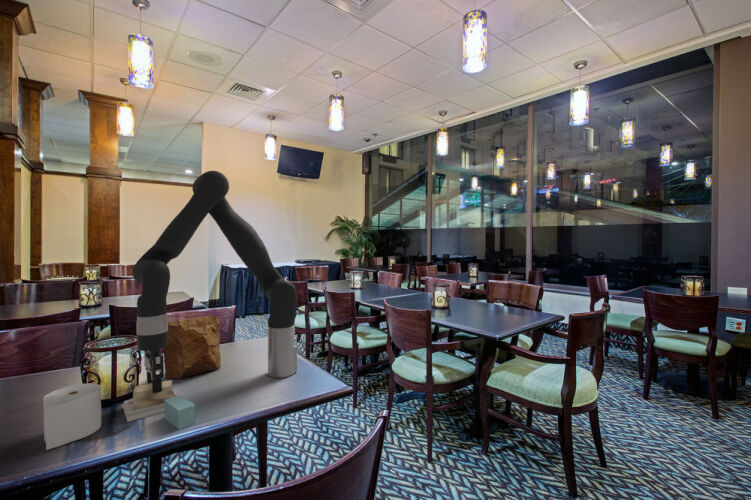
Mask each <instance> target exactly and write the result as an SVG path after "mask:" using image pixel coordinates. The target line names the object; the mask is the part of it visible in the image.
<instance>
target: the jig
mask: <svg viewBox="0 0 751 500" xmlns="http://www.w3.org/2000/svg"><path fill="white" fill-rule="evenodd" d="M179 395H180V394H179V393H178V391H177V390H176V388H172V398H173V397H176V396H179ZM122 407H123V412H124V416H125V418H126V422H128V423H129V422H132V421H136V420H139V419H143V418H146V417H150V416H154V415H157V414H161V413H165V412H164V403H161V404H158V405H154V406H150V407H146V408H142V409H138V410H135V411H133V398H131V399H127V400H124V401H123V404H122Z"/></svg>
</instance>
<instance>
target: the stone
mask: <svg viewBox="0 0 751 500" xmlns="http://www.w3.org/2000/svg"><path fill="white" fill-rule="evenodd" d="M220 324H221V323H220V318H219V317H217V316H216V315H215V316H214V315H204V316H203V315H202V316H198V317H190V318H186V319H179V320H176V321H168V338H169V344H168V345H167V346H166V347H164V348H162V349H163V357H164V358H163V365H164V371H165V372H164V379H171V380H176V379H178V380H179V379H184V378H190V377H194V376H196V375H197V376H198V375H200V374H201V375H202V374H203V373H208V372H211V371H215V370H217V369H220V368H221V367H222V366H221V351H220V347H221V346H220V341H221V340H220V329H221V328H220V326H221V325H220Z"/></svg>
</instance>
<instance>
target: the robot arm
mask: <svg viewBox="0 0 751 500" xmlns="http://www.w3.org/2000/svg"><path fill="white" fill-rule="evenodd" d="M229 190H230V183H229V180H228V178H227V177H226V175H225V174H224V173H222V172H220V171H219V170H218V171H217V170H208V171H205V172H203V173H202V174H200V175H199V176H198V177H197V178H196V179H195V180H194V182H193V183H192V192H193V195H192V196H191V197H190V199H189V200H188V202H187V203H186V205H185V206H184V207H183V208H182V209H181V211H179V213H178V214H177V215H176V216H174V218H173V219H172V220H171V221H170V223H168V225H167V226H166V227H165V229H164V230H163V232H162V233H161V235H159V237H158V238H157V240H156V241H155V243H154V244H153V245H152V246H151V247H150V248H149V249H147V250H146V252H144V254H143V255H142V256H141V257H139V259H138V260H137V262H136V263H135V264H134V266H133V268H132V278H133V280H135V282H137V283H139V284H141V285H142V286H141V287H142V288H141V294H140V295H139V296H138V297H137V301H136V312H137V313H136V315H137V316H136V349H137V350H138V351H141V352H143V351H144V354H143V358H144V363H143V365H144V367H145V371H146V383H147V384H152V392H153V393H158V392H161V391H162V382H163V378H164V379H165V372H164V371H165V365H164V353H162V351H161V349H163V348H164V347H166V346H167V345H168V344H169V338H168V323H169V320H168V313H167V312H168V309H167V307H168V306H167V296H168V293H169V288H170V282H171V271H170V268H169V266H168V264H169V263H170V262H171V261H172V260H174V259H177V258H178V257H179V256H180V255H181V254H182V252H183V251H184V249H185V248H186V247H187V245H188V243H189V242H190V241H191V239H192V237H193V236H194V234H195V233H196V232H197V229H198V228H199V227H200V225H201V224H202V222H203V221H204V220H205V218H206V217H207V216H208V214H209V215H210V216H211V217H212V219H213V220H214V222H215V223H216V224H217V227H219V229H220V230H221V232H222V234H223V235H224V237H225V238H226V240H227V241H228V243H229V244H230V246H231V247H232V248H233V250H234V252H235V253H236V255H237V256H238V257H239V259H241V261H242V263H244V265H245V266H246V268H247V269H248V270H249V271H250V272H251V273H252V275H254V277H255V279H256V280H257V281H258V283H259V285H260V287H261V289H262V291H263V293H264V295H265V298H266V299H267V300H268V301H269V302H270V303H269V307H270V308H269V309H270V310H269V317H268V318H267V375H268V377H270V378H273V379H275V378H276V379H283V378H287V377H291V376H292V374H293V375H294V374H295V372H296V373H298V346H297V345H296V344H295V343H296V341H295V340H296V338H295V335H296V331H295V330H296V328H295V327H296V324H295V323H296V322H295V320H296V319H297V313H298V312H297V307H298V306H297V303H298V297H297V296H298V292H297V289H296V286H294V284H292V283H291V282H289V281H287V280H286V279H284V278H283V276H282V275H281V274H280V273H279V271H278V270H277V269H276V267H275V265H274V264H273V262H272V260H271V257H270V254H269V252H268V250H267V247H266V245H265V243H264V241H263V240H262V239H261V237H260V236H259V234H258V231H256V230H255V228H254V227H253V226H252V225H251V224H250V223H249V222H248V221H246V220H245V219H244V218H243V217H241V216H240V215H239V214H238V213H237V212H236V211H235V210H234V209H233V208H232V206H231V204H230V203H229V201H228V200H227V197H226V196H227V195H228V194H229ZM157 372H159V373H157ZM290 375H291V376H290Z"/></svg>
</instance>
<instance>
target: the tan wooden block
mask: <svg viewBox="0 0 751 500" xmlns="http://www.w3.org/2000/svg"><path fill="white" fill-rule="evenodd" d="M172 389H173V379H170V380H165V381H163V380H162V391H161V392H158V393H153V392H152V383H151V384H148V383H147V384H141V385H135V386H134V389H133V393H132V399H133V411H135V410H138V409H142V408H146V407H150V406H154V405H158V404H161V403H164V400H167V399H170V398H172Z"/></svg>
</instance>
